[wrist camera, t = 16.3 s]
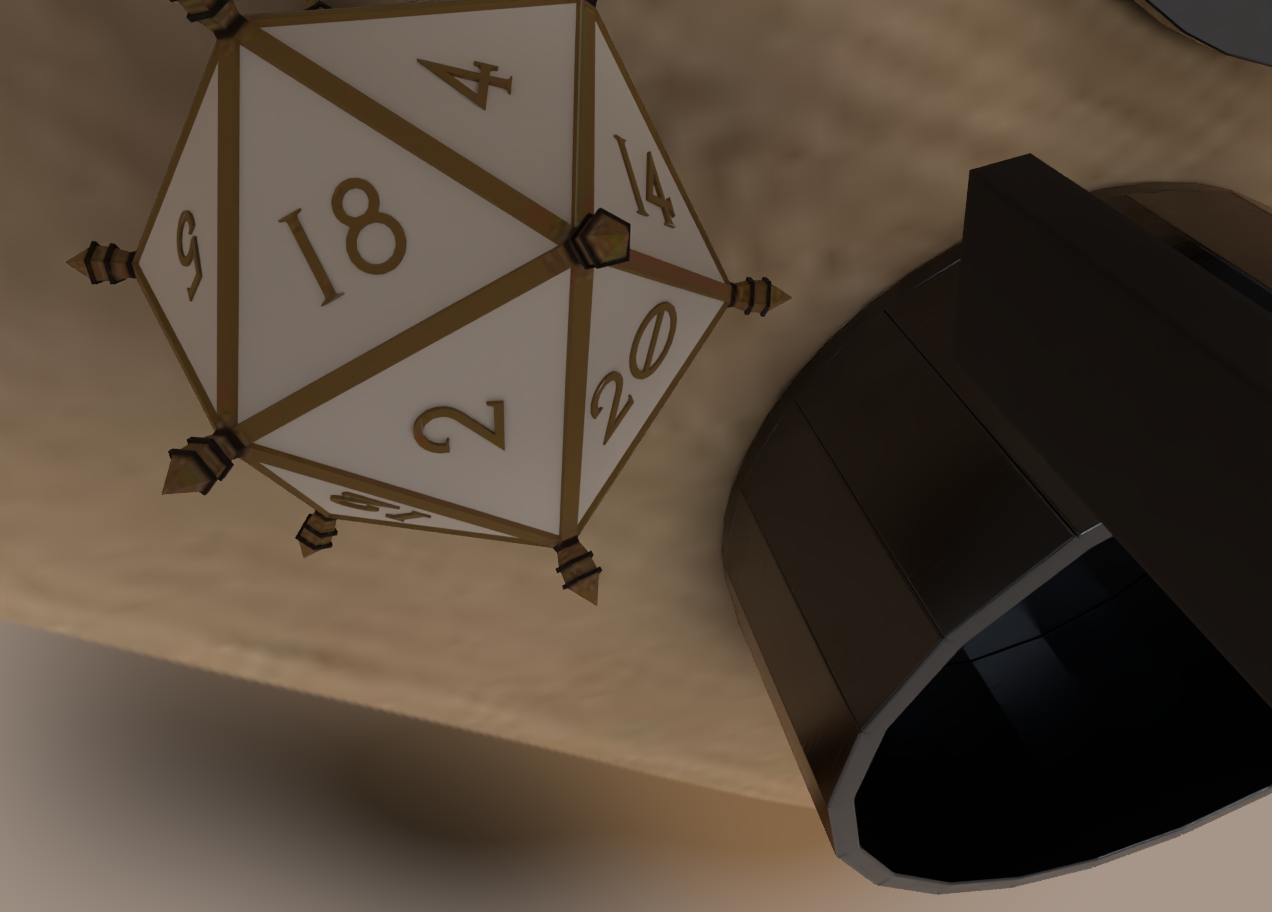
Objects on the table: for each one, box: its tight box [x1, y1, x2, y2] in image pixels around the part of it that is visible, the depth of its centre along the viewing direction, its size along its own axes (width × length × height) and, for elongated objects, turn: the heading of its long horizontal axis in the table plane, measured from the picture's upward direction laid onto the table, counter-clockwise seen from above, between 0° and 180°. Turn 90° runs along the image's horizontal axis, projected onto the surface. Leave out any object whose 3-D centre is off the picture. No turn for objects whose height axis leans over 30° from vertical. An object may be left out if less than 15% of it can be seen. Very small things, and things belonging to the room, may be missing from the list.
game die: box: [66, 0, 792, 606], centre depth 12 cm, size 9×8×10 cm
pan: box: [722, 183, 1272, 894], centre depth 22 cm, size 18×18×8 cm
